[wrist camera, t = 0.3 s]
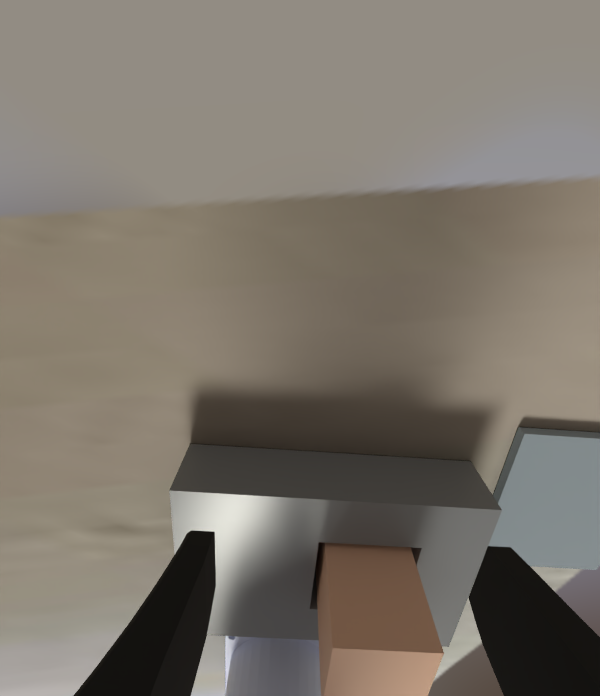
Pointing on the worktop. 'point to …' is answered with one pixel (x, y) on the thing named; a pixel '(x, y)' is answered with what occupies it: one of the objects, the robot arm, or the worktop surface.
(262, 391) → the worktop surface
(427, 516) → the plate
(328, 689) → the plug
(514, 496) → the mat
